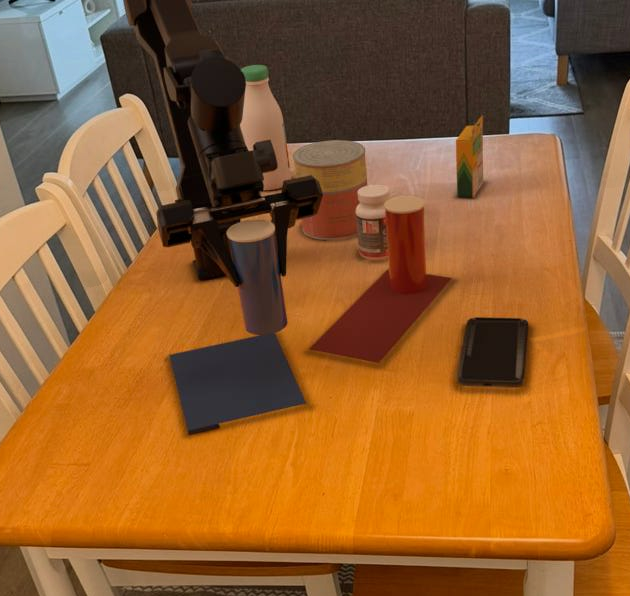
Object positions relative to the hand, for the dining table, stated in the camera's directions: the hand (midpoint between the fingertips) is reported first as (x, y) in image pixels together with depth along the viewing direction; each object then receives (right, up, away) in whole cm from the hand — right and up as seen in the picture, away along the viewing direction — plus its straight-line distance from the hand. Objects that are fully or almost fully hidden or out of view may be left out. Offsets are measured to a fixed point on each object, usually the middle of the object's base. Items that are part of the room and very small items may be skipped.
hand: (260, 280), depth 101 cm
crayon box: (+30, +26, +51) cm, 65 cm away
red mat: (+14, -1, +19) cm, 24 cm away
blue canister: (0, -4, +5) cm, 7 cm away
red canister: (+18, +4, +24) cm, 30 cm away
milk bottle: (-6, +30, +61) cm, 68 cm away
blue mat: (-4, -11, +9) cm, 14 cm away
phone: (+28, -8, +9) cm, 30 cm away
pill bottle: (+14, +11, +34) cm, 39 cm away
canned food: (+7, +18, +44) cm, 48 cm away
